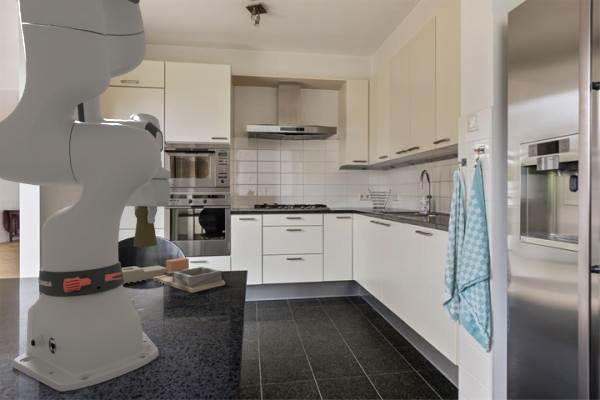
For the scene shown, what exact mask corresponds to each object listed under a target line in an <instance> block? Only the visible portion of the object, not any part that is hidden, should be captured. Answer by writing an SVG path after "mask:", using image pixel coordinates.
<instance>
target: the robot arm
mask: <svg viewBox="0 0 600 400" xmlns="http://www.w3.org/2000/svg"><path fill="white" fill-rule="evenodd" d="M140 2H141V0H18V10H19V20H20V26H21V32H22V33H21V34H22V39H23V49H24V58H25V59H24V61H25V84H24V89H23V92H22V94H21V95H22V96H21V98H20V99H19V102H18V103H17V105H16V107H15V108H14V109H13V111H12V112H11V113H10V114H9V115H8V116H7V117H5V118H4V119H3V120H1V121H0V179H1V180H3V181H9V182H13V183H19V184H25V185H31V186H52V187H53V186H62V187H63V186H67V187H68V186H69V187H70V186H76V187H77V186H78V187H79V186H80V187H82V191H81V192H82V193H81V196H80V197H79V199H78V200H77V201H76V202H75V203H73V204H71V205H68V206H65V207H64V208H61V209H59V210H57V211H56V212H54V213H52V214H51V215H49V217H47V219H46V220H45V221H44V223H43V225H42V228H41V255H42V256H41V259H42V261H41V262H42V263H41V264H42V265H41V266H42V267H41V269H40V270H39V271H38V272H39V273H38V274H39V275H38V279H37V281H38V282H37V283H38V291H39V293H41V294H40V296H39V297H38V299H37V300H36V301H35V302H34V303H33V304H31V306H30V307H29V308H28V309H27V321H26V322H27V324H26V325H27V326H26V327H27V328H26V352H24V353H22V354H21V355H19V356H17V357H15V358H14V359H13V363H12V368H13V369H16V370H18V371H20V372H21V373H23V374H25V375H27V376H29V377H30V378H32V379H35V380H37V381H38V382H40V383H43V384H44V385H46V386H48V387H51V389H54V390H55V391H58V392H67V391H74V390H79V389H83V388H86V387H91V386H95V385H98V384H101V383H104V382H107V381H109V380H111V379H115V378H117V377H120V376H122V375H125V374H127V373H130V372H132V371H135V370H138V369H139V368H141V367H143V366H145V365H147V364H149V363H151V362H152V361H154V360H155V359H156V358H157V357H158V356H159V355H160V353H159V349H158V347H157V345H156V344H155V343H154V342H153V341H152V340H151V339H150V337H149V336H148V335H147V334H146V332H145V331H144V330H143V324H142V323H144V322H146V319H147V313H146V310H145V308H138V309H137V308H136V307H135V305H136V301H135V298H133V297H132V298H130V296H129V294H128V292H127V290H126V289H125V287H124V284H123V283H124V279H123V270H122V268H123V267H122V265H121V264H122V263H121V262H120V261H119V240H120V239H119V237H120V235H119V234H120V224H121V220H122V219H121V218H122V215H123V212H124V211H125V208H126V207H134V211H135V210H136V208H138V207H142V206H143V207H147V211H148V216H147V217H146V223H154V224H155V222H156V215H157V212H158V208H159V207H161V208H163V207H168V205H169V204H170V202H171V201H170V200H171V184H170V180H171V177H172V172H171V171H170V170H168V169H166V168H164V167H163V161H162V152H163V150H164V135H163V131H162V130H161V126H160V125H161V124H160V121H159V119H158V118H157V117H156V116H154V115H152V114H149V113H144V112H143V113H134V114H131V115H130V117H129V119H128V120H127V119H124V120H123V119H107V118H104V117H103V116H102V115H101V102H100V101H101V100H100V96H101V95H102V94H104V93H105V92H106V91H107V90H108V88H109V86H110V83H111V79H113V78H116V77H119V76H123V75H126V74H128V73H131V72H133V71H134V70H135V69H137V68H138V67H139V66H140V65H141V64H142V63H143V62H144V59H145V57H146V55H147V50H146V49H147V43H146V41H147V40H146V34H145V26H144V21H143V20H144V19H143V17H142V11H141V8H140ZM76 108H77V117H78V119H77V120H78V121H77V120H76V118H75V117H76V116H75V113H76Z"/></svg>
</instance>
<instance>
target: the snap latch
mask: <svg viewBox="0 0 600 400" xmlns="http://www.w3.org/2000/svg"><path fill="white" fill-rule="evenodd" d="M189 260H190V259H189V258H186V257H179V258H172V259H167V260H165V268H166V270H167V271H182V270H187V269H190V267H189V265H190V261H189Z"/></svg>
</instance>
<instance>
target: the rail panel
mask: <svg viewBox="0 0 600 400" xmlns="http://www.w3.org/2000/svg"><path fill="white" fill-rule="evenodd" d="M153 280H154V281H153ZM152 281H153V282H157V281H158V282H157V283H160V282H161V283H160V284H163V283H164V284H163V285H166V286H170V287H173V288H176V289H178V290H182V291H185V292H188V293H191V294H192V293H197V292H201V291H204V290H208V289H212V288H217V287H221V286H225V285H226V281H225V280H222V270H218V269H214V268H209V267H205V266H198V267H194V268H187V269H181V270H176V271H168V270H167V272H164V275H162V276H157V277H153V279H152Z"/></svg>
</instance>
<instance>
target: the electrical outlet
mask: <svg viewBox="0 0 600 400" xmlns="http://www.w3.org/2000/svg"><path fill="white" fill-rule="evenodd" d="M121 268H122V270H123V279H124V283H123V285H126V284H125V283H128V284H131V283H130V282H133V283H138V282H137V281H139V282H143V281H142V280H145V281H148V280H147V279H151V280H153V277H157V276H162V275H164V272H167V271H168V270H166V266H161V265H153V266H152V265H150V266H145V267H139V266H135V265H133V266H126V267H121Z"/></svg>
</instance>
